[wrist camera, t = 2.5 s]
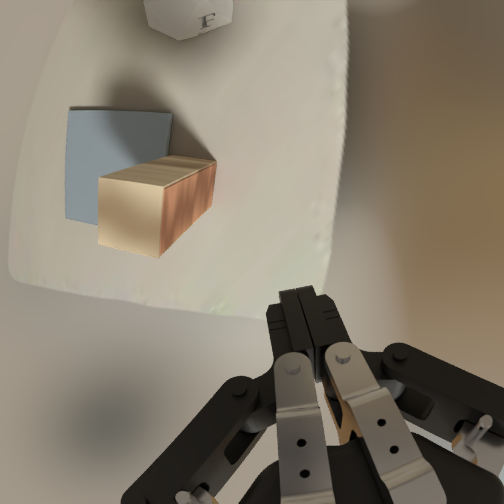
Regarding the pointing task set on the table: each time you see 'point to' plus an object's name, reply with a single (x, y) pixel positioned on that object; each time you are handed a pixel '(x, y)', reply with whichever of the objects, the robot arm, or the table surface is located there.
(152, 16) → the die
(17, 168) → the table surface
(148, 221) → the beech block
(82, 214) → the mat
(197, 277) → the table surface
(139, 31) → the table surface
